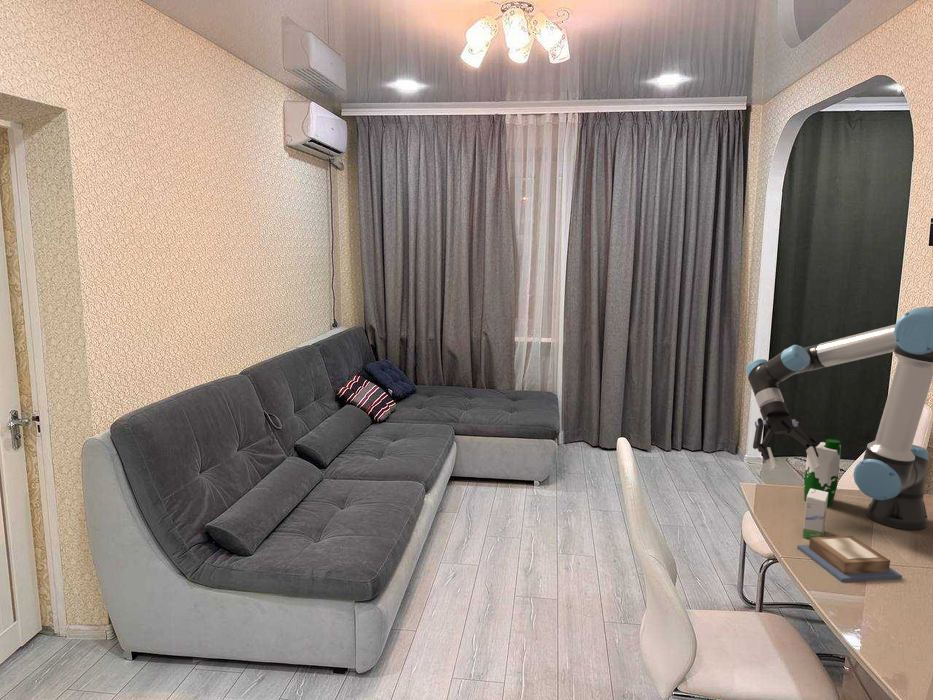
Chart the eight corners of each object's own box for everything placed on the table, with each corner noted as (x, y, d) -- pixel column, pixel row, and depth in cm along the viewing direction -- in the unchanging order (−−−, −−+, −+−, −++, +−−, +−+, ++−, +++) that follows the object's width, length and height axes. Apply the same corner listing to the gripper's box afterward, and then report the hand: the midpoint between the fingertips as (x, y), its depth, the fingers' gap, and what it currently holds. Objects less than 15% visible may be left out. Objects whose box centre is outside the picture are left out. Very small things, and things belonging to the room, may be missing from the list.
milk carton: (832, 508, 212) (838, 445, 208) (800, 501, 217) (806, 439, 214) (837, 499, 218) (843, 439, 215) (806, 493, 224) (812, 433, 220)
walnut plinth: (850, 546, 184) (852, 535, 183) (888, 571, 170) (890, 559, 169) (808, 548, 182) (810, 537, 182) (843, 574, 168) (845, 561, 168)
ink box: (821, 541, 188) (826, 500, 186) (801, 537, 191) (806, 496, 189) (824, 530, 195) (829, 491, 193) (805, 526, 198) (809, 487, 196)
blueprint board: (852, 545, 186) (852, 542, 186) (901, 578, 168) (902, 575, 168) (797, 548, 184) (797, 545, 184) (841, 581, 166) (841, 578, 166)
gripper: (803, 411, 218) (828, 473, 206) (728, 412, 215) (749, 475, 203) (815, 399, 212) (842, 462, 200) (739, 400, 209) (761, 464, 196)
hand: (795, 469), depth 201 cm, fingers open, 13 cm apart
